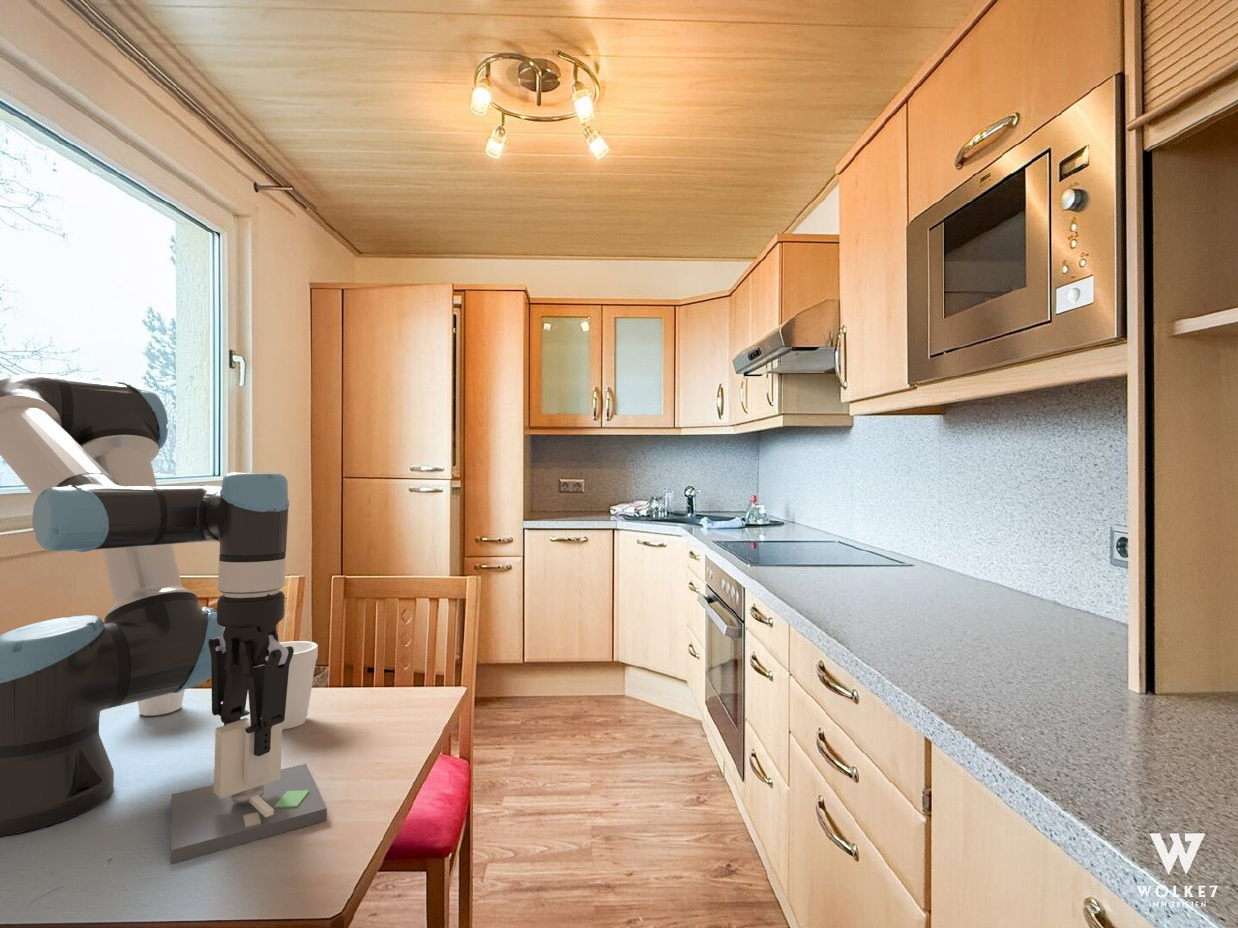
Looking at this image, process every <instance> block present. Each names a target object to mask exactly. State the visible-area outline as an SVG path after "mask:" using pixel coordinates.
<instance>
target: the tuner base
mask: <svg viewBox="0 0 1238 928" xmlns="http://www.w3.org/2000/svg"><path fill="white" fill-rule="evenodd" d="M311 773H312V772H311V771H310V769H309V767H308V765H307V763H304V764H303V763H302V764H298V765H294V766H290V767H286V768H281V779H279V780H276V781H273V782H270V783H267V784H264V785H262V786H263V787H264V794H263V795H262V796H261V797H260V798H261V799H263V800H264V801H265V802H266V803H267V804H268V805H269V806H270V807H272V808H273V809H274V814H273V815H271V816H268V817H265V816H264V815H263V814H261V813H260V812H259V811H258V810H257V809H256V808H255V807H254V806H253V805H252V804H251V803H249V804H241V803H236V802H233V801H232V800H231V795H230V796H227V797H224V798H221V799H220V798H219V797H218V796H217V795H216V794H215V793H214V784H211V785H210V784H209V785H207V786H206V785H205V786H203V787H197V788H193V789H188V790H184V791H183V790H182V791H180V792H174V793H171V796H170V797H171V798H170V864H174V863H175V864H177V863H178V862H182V861H185V860H186V861H187V860H190V859H193V858H197V857H200V856H203V855H207V854H211V853H214V852H218V851H221V850H225V849H229V848H233V847H236V846H240V845H243V844H247V843H250V842H255V841H257V840H260V839H265V838H269V837H271V836H275V835H279V834H283V833H286V832H291V831H293V830H298V829H300V828H304V827H308V826H312V825H315V824H318V823H323V822H325V821H327V815H328V814H327V810H328V809H327V806H326V804H325V802H324V800H323V798H322V795H321V793H320V790H319V788H318V787H317V785H316V782H315V780H314V778H313V775H312V774H311Z"/></svg>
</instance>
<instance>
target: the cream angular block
mask: <svg viewBox="0 0 1238 928" xmlns="http://www.w3.org/2000/svg"><path fill="white" fill-rule="evenodd" d="M248 719H249V720H245V721H241V722H237V723H233V724H229V725H225V726H224V725H223V726H219V727H215V731H214V732H215V735H214V737H215V738H214V739H215V740H214V742H215V743H214V769H213V771H214V776H213V785H214V793H215V794H216V795H217V796H218V797H219V798H220V799H221V798H224V797H227V796H230V795H231V800H232V801H233V802H236V803H241V804H249V803H251V804H252V805H253V806H254V807H255V808H256V809H257V810H258V811H259V812H260V813H261V814H263V815H264V816H265V817H268V816H271V815H273V814H274V809H273V808H272V807H270V806H269V805H268V804H267V803H266V802H265V801H264V800H263V799H261V798H260V797H261V796H262V795H263V794H264V787H263V786H262V785H264V784H267V783H270V782H273V781H276V780H279V779H281V769H282V736H283V735H282V733H283V729H282V722H281V723H279V724H276V725H273V726H272V728H271V740H270V741H271V743H270V744H271V746H270V751H269V754H268V775H267V776H265V777H263V778H261V779H259V780H256V781H254V782H252V783H250V784H245V783H244V764H245V736H246V730H245V728H248V727H251V722H250V718H248Z"/></svg>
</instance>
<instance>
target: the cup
mask: <svg viewBox="0 0 1238 928" xmlns="http://www.w3.org/2000/svg"><path fill="white" fill-rule="evenodd" d="M185 690H186V689H184V690H182V691H180V692H178V693H169V694H165V695H161V696H157V697H153V698H149V699H145V700H141V701H137V706H138V712H139V715H142V716H146V717H148V716H160V715H166V714H169V713H173V712H175V711H179V709H181V708H182V705H183V700H184V695H185Z"/></svg>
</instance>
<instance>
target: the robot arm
mask: <svg viewBox="0 0 1238 928" xmlns="http://www.w3.org/2000/svg"><path fill="white" fill-rule="evenodd" d="M168 424H169V420H168V414H167V410H166V408H165V405H164V403H163V401H162V400H161V398H160V397H159V396H158V395H157V394H156V392H155V391H153V390H151V388H150V389H149V388H147V387H144V386H141V385H140V386H139V385H134V384H130V383H126V382H122V381H121V382H119V381H118V382H107V381H100V380H99V381H98V380H90V379H84V378H75V377H65V376H57V375H52V374H51V375H50V374H44V373H43V374H41V373H40V374H39V373H35V374H34V373H33V374H32V373H30V374H29V373H27V374H21V375H19V374H18V375H13V376H10V377H7V378H4V379H1V380H0V457H2V459H3V460H4V461H5V462H6V464H7V465H8V466H9V467H10V469H11V470H13V471H12V472H14V473H15V475H16V476H17V477H18V478H19V480H21V482H22V483H23V485H24V486H26V488H27V489H28V490H29V491H30V492H31V494H32V496H34V497H35V498H36V499H35V501H34V505H33V509H32V519H31V520H32V521H31V522H32V531H33V533H34V535H35V540H36V543H37V544H38V545H39V547H40V548H42V549H44V550H45V551H48V552H49V551H50V552H72V551H73V552H78V553H85V552H91V551H97V550H101V551H102V552H103V558H104V562H105V568H106V571H107V576H108V581H109V585H110V591H111V594H112V599H113V603H114V604H113V605H112V607H111V608H110V609H109V610H108V611H107V613H105V615H104V617H103V620H102V618H101V617H100V616H97V615H91V614H87V615H82V614H81V615H74V616H70V617H60V618H53V619H48V620H43V621H40V622H39V621H38V622H35V623H31V624H27V625H24V626H20V627H17V628H13V629H12V630H9V631H7V632H4V633H2V634H0V836H7V835H8V836H9V835H13V834H19V833H23V832H24V833H26V832H29V831H32V830H37V829H42V828H44V827H47V826H51V825H54V824H57V823H60V822H63V821H66V820H68V819H70V818H74V817H75V816H77V815H80V814H82V813H85V812H86V811H89V810H90V809H93V808H95V807H96V806H97V805H100V804H101V803H102V802H103V801H105V800H106V799H107V798H108V797H109V796H110V795H111V794H112V792H113V790H114V782H115V781H114V780H115V772H114V768H113V765H112V763H111V761H110V758H109V756H108V752H107V749H106V748H105V746H104V743H103V740H102V739H101V736H100V715H101V712H102V711H104V710H107V709H108V710H109V709H112V708H115V707H116V708H117V707H121V706H124V705H127V704H132V703H138V701H141V700H145V699H149V698H153V697H157V696H161V695H165V694H169V693H178V692H180V691H182V690H184V689H185V690H186V689H187V690H188V689H190V688H193V687H197V686H200V685H202V684H204V683H206V682H207V681H208V680H209V679H211V713H212V715H213V716H219V717H220V721H221V723H222V724H223V726H225V725H229V724H233V723H237V722H241V721H245V720H249V719H250V722H251V727H248V728H245V730H246V736H245V764H244V783H245V784H250V783H252V782H254V781H256V780H259V779H261V778H263V777H265V776H267V775H268V754H269V751H270V746H271V744H270V743H271V741H270V740H271V728H272V726H273V725H276V724H279V723H281V722H283V721H284V719H285V709H286V697H287V686H288V674H289V664H290V661H291V659H292V656H293V653H294V649H293V647H292V646H288V647H283V646H282V645H281V644H280V643H281V642H279V635H278V632H277V625H278V624H279V623H280V622H281V621H283V619H284V617H285V602H286V601H285V597H286V596H285V593H284V592H283V591H282V590H281V589H283V588H285V586H286V584H285V583H286V555H287V553H286V552H287V542H288V540H287V539H288V525H289V524H288V523H289V522H288V521H289V507H290V500H289V496H288V495H289V487H288V486H289V485H288V483H289V482H288V479H287V477H286V476H285V475H283V474H281V473H265V472H264V473H262V472H261V473H260V472H259V473H258V472H257V473H256V472H229V473H227V474H225V476H223V479H222V481H221V482H222V483H221V486H217V485H214V484H212V485H211V484H208V485H205V484H204V485H203V484H202V485H201V484H197V485H193V486H186V485H185V486H180V485H179V486H158V485H157V481H156V475H155V472H154V468H153V465H152V462H153V461H154V460H155V459H156V457H158V455H159V452H160V450H161V449H162V448H163V447H164V445H165V444H166V442H167V438H168V435H169V429H168V427H167V425H168ZM201 542H202V543H204V542H205V543H206V542H214V543H215V542H217V543H219V557H218V558H219V560H218V573H217V574H218V575H217V590H218V591H219V592H220V593H222V594H221V595H219V597H218V598H217V605H216V606H217V608H216V609H215V608H212V607H207V606H202V607H201V606H200V602H199V598H198V595H197V593H196V592H194V591H192V590H190V589H188V588H185V587H183V584H182V580H181V576H180V572H179V568H178V564H177V561H176V557H175V552H174V548H173V545H177V544H190V543H191V544H192V543H201ZM259 665H262V666H259ZM247 699H248V705H249V708H248V709H249V710H247V709H246V705H247ZM248 715H249V718H247V717H246V716H248Z"/></svg>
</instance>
